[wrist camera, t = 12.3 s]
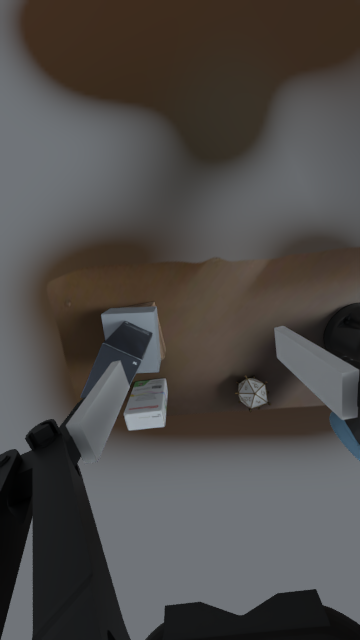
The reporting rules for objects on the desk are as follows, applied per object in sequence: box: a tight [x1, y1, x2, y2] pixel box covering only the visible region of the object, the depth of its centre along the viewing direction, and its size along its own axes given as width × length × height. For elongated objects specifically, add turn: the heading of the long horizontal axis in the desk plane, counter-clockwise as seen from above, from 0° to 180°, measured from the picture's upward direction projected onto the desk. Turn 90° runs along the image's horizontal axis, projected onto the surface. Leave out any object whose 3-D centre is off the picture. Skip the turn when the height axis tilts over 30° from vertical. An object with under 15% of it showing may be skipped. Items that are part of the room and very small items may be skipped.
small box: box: [81, 321, 153, 398], centre depth 32 cm, size 11×6×10 cm, turn 153°
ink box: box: [124, 378, 168, 431], centre depth 46 cm, size 8×5×12 cm, turn 97°
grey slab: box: [101, 306, 161, 373], centre depth 39 cm, size 10×13×5 cm
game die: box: [235, 375, 271, 412], centre depth 47 cm, size 9×8×10 cm
